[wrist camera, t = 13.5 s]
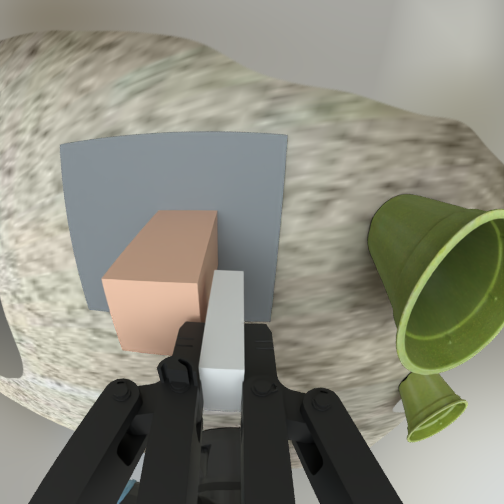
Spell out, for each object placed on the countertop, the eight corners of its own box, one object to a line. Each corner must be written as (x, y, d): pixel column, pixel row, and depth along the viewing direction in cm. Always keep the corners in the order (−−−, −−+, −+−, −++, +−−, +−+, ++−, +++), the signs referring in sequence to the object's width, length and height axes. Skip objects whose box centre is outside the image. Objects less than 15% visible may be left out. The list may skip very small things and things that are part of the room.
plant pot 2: (440, 379, 33) (462, 419, 26) (390, 405, 35) (406, 449, 27) (444, 346, 30) (473, 391, 22) (385, 377, 31) (408, 428, 23)
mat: (269, 317, 26) (270, 321, 25) (91, 306, 25) (89, 309, 24) (286, 134, 19) (287, 134, 18) (63, 143, 18) (59, 144, 17)
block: (218, 264, 22) (204, 358, 13) (163, 263, 22) (122, 350, 13) (217, 210, 20) (197, 283, 11) (158, 210, 20) (101, 278, 11)
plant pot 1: (383, 139, 19) (486, 165, 9) (465, 208, 21) (545, 259, 11) (313, 263, 23) (356, 363, 13) (404, 303, 26) (457, 381, 16)
